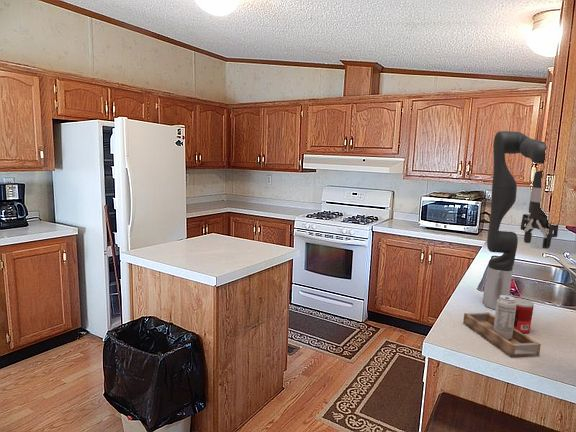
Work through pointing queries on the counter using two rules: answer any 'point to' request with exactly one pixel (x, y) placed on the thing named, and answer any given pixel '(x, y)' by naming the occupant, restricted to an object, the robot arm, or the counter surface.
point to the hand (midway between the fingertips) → (536, 245)
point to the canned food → (523, 315)
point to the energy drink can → (505, 316)
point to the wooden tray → (513, 348)
